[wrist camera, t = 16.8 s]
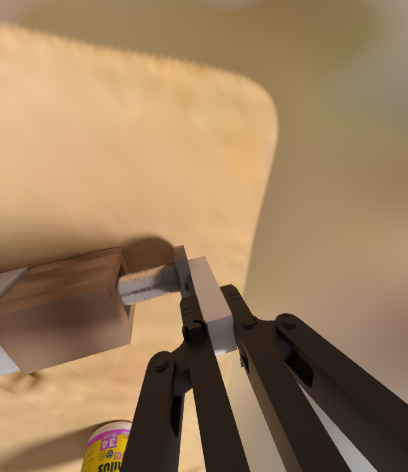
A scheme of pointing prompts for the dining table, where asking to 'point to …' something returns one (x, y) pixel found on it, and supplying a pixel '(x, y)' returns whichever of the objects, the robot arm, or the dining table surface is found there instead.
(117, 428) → the supplement bottle
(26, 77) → the dining table surface
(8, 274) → the grey flat rimmed tray
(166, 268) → the bar
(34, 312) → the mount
